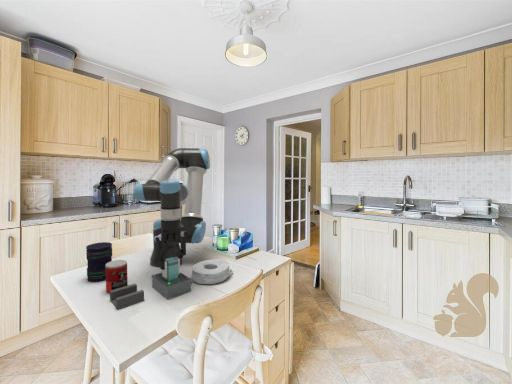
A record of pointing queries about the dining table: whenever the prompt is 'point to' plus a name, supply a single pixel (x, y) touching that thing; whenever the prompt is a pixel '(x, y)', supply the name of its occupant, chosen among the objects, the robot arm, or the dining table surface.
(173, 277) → the plug
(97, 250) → the storage jar
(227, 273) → the cable
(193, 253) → the dining table surface
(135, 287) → the grey slotted cradle
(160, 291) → the grey socket block
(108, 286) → the canned food
